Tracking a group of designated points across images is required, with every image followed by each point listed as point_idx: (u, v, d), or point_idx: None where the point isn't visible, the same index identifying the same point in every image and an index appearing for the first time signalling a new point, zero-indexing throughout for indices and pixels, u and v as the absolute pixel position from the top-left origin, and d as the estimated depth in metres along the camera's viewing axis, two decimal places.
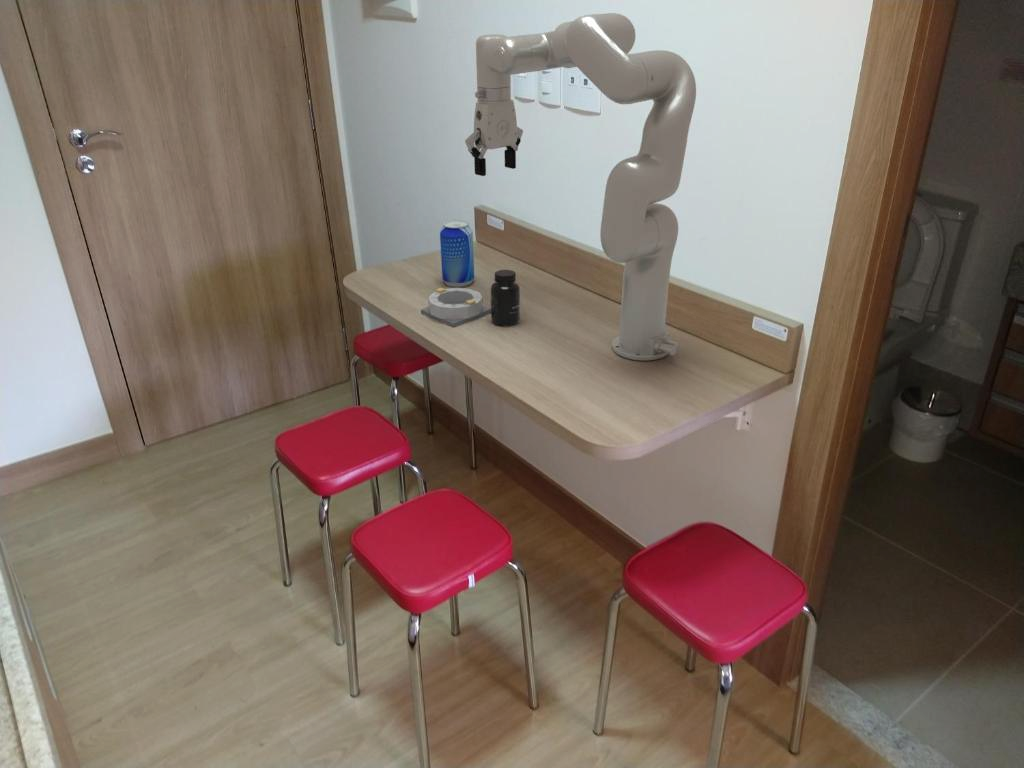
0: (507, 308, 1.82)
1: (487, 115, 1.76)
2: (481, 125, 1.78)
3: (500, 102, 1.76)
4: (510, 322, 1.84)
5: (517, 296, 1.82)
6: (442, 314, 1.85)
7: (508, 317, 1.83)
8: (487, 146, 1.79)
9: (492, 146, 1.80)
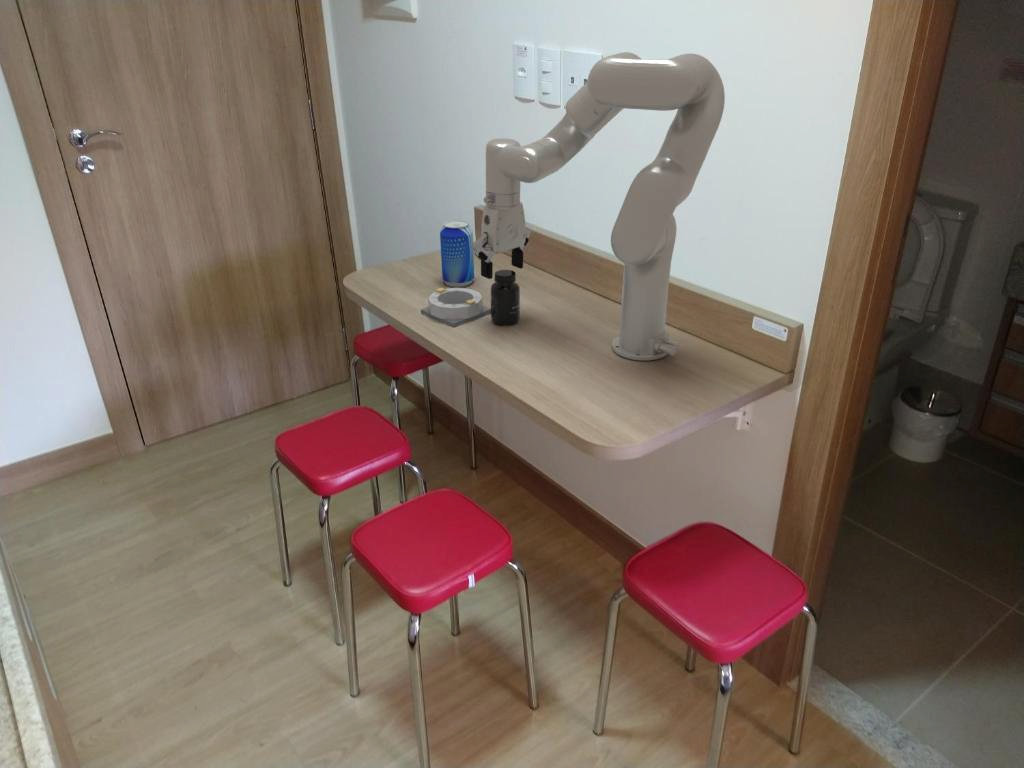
0: (507, 308, 1.82)
1: (495, 221, 1.71)
2: (489, 230, 1.72)
3: (509, 208, 1.71)
4: (510, 322, 1.84)
5: (517, 296, 1.82)
6: (442, 314, 1.85)
7: (508, 317, 1.83)
8: (495, 251, 1.74)
9: (500, 250, 1.75)
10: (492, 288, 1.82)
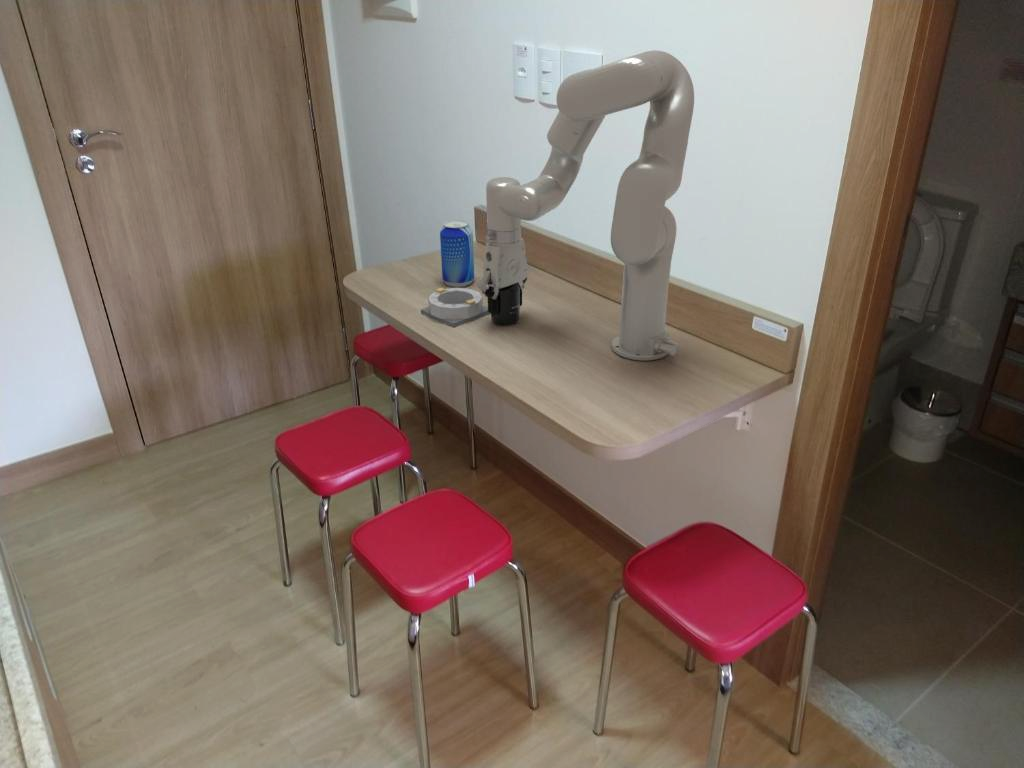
0: (506, 308, 1.82)
1: (497, 257, 1.75)
2: (491, 266, 1.76)
3: (510, 244, 1.75)
4: (510, 322, 1.84)
5: (517, 296, 1.82)
6: (442, 314, 1.85)
7: (508, 317, 1.83)
8: (497, 286, 1.77)
9: (502, 286, 1.78)
10: (492, 288, 1.82)
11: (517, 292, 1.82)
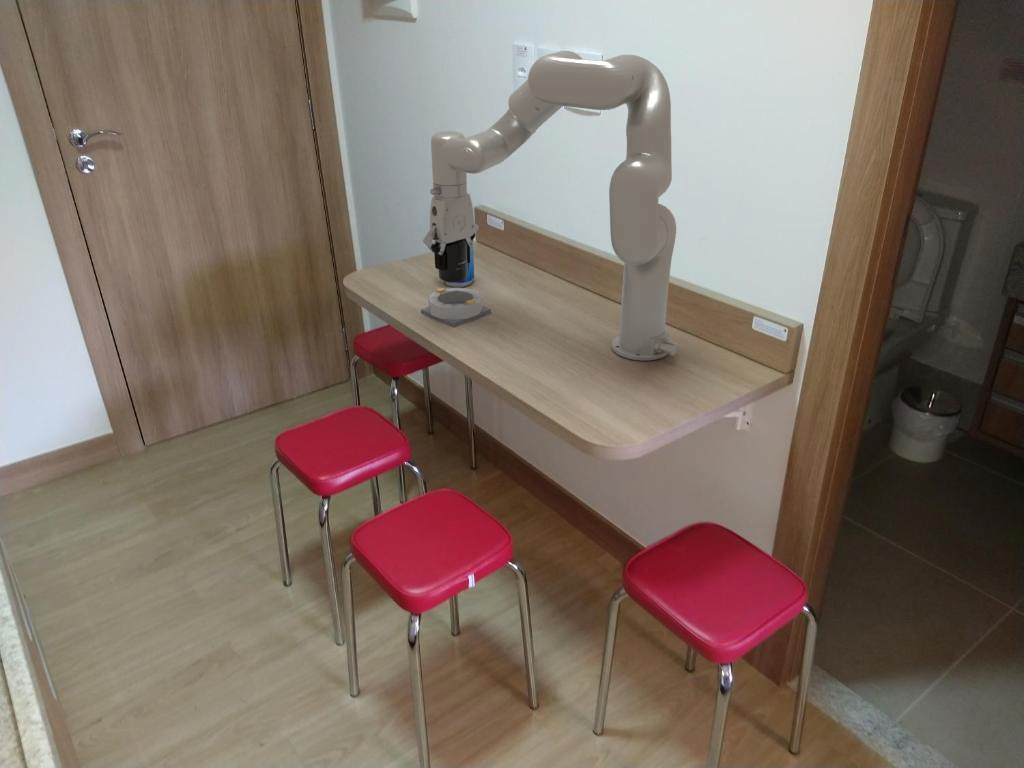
0: (453, 264, 1.82)
1: (442, 211, 1.75)
2: (437, 221, 1.76)
3: (455, 199, 1.75)
4: (457, 278, 1.84)
5: (464, 252, 1.82)
6: (442, 314, 1.85)
7: (455, 273, 1.83)
8: (443, 241, 1.78)
9: (448, 241, 1.79)
10: (439, 244, 1.82)
11: (464, 248, 1.82)
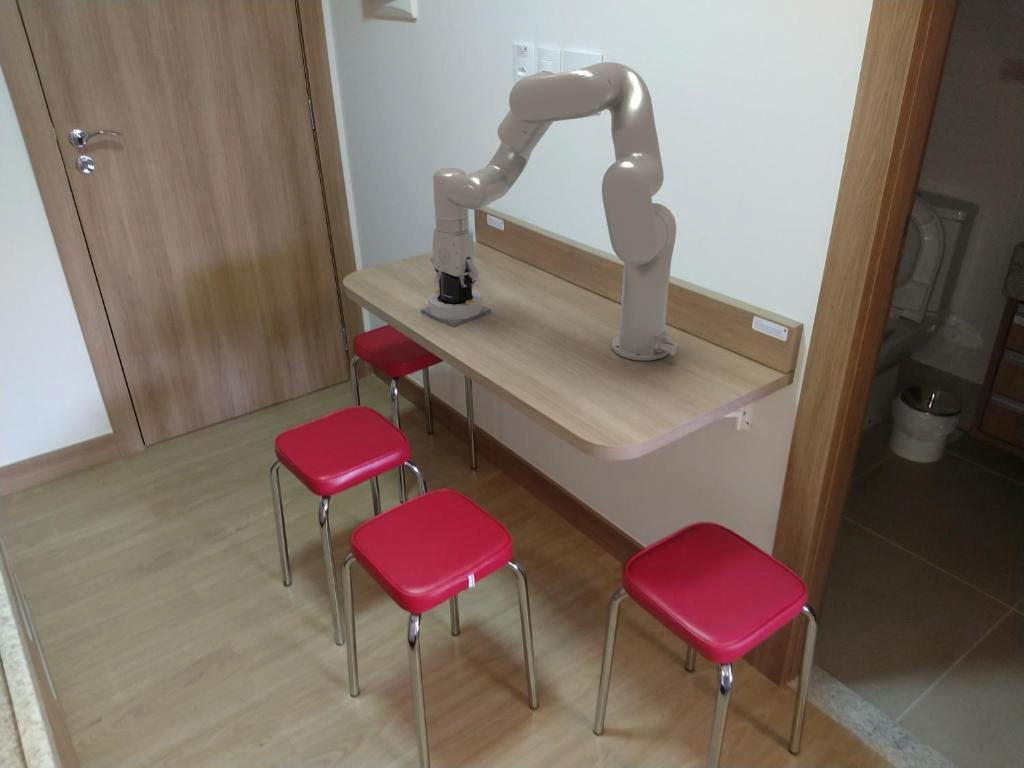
0: (441, 292, 1.88)
1: (433, 238, 1.84)
2: None
3: (436, 231, 1.80)
4: None
5: (446, 286, 1.85)
6: (442, 314, 1.85)
7: (442, 301, 1.89)
8: (433, 265, 1.87)
9: (436, 267, 1.86)
10: None
11: (447, 282, 1.85)
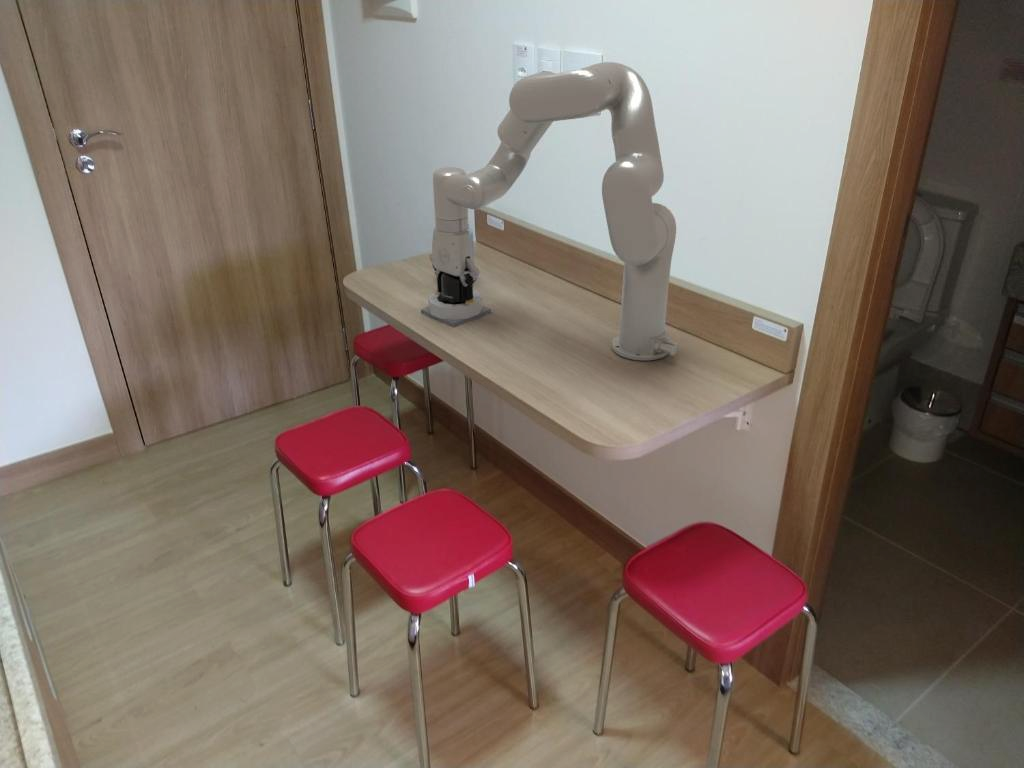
0: None
1: None
2: None
3: (436, 230, 1.80)
4: None
5: (447, 286, 1.85)
6: (442, 314, 1.85)
7: (442, 301, 1.89)
8: (432, 264, 1.87)
9: (435, 266, 1.86)
10: None
11: (447, 283, 1.85)
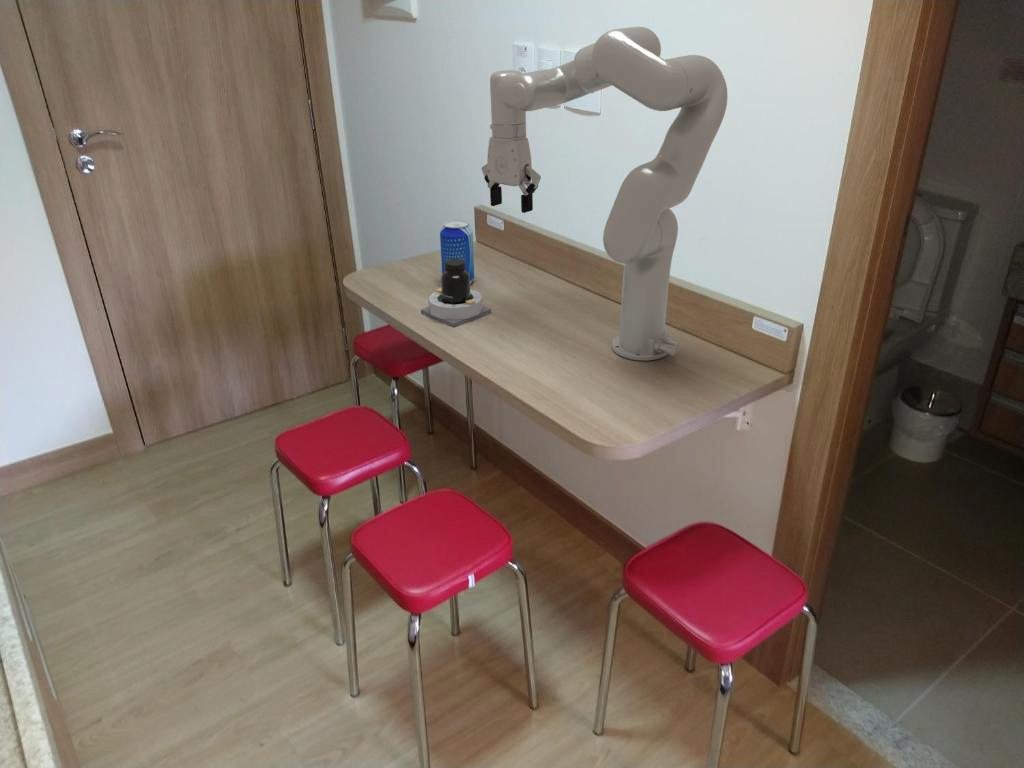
0: None
1: (488, 147, 1.77)
2: None
3: (493, 138, 1.74)
4: None
5: (447, 286, 1.85)
6: (442, 314, 1.85)
7: (442, 301, 1.89)
8: (488, 177, 1.80)
9: (491, 179, 1.80)
10: None
11: (447, 283, 1.85)
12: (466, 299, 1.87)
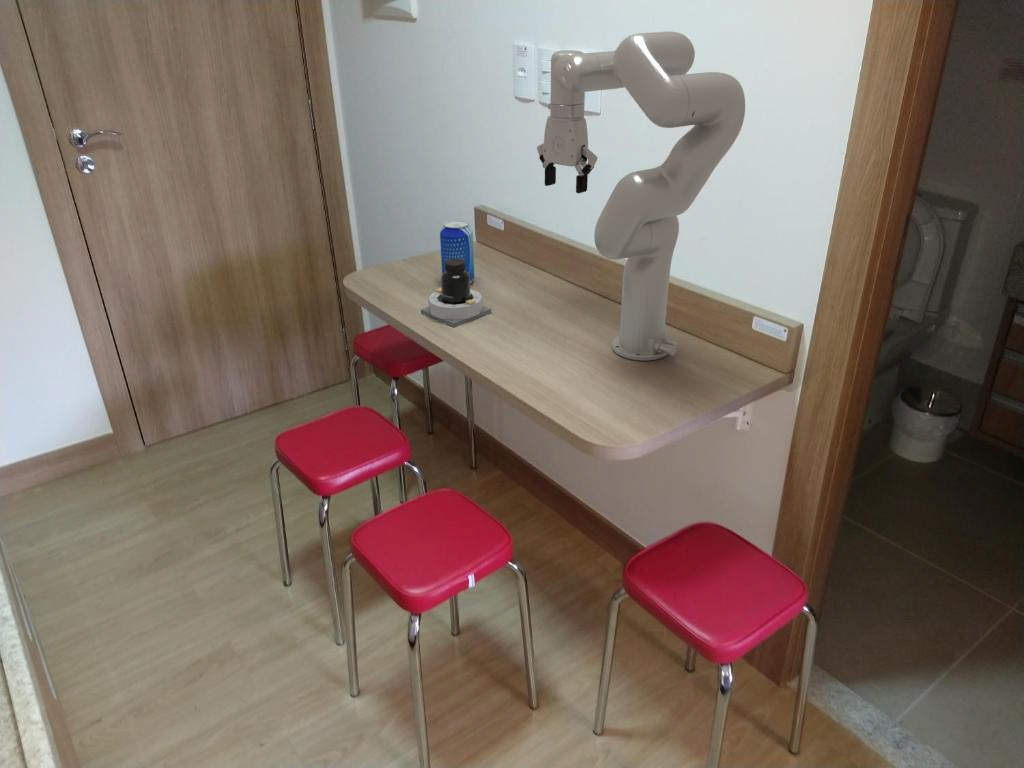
0: None
1: (545, 127, 1.78)
2: None
3: (551, 118, 1.75)
4: None
5: (447, 286, 1.85)
6: (442, 314, 1.85)
7: (442, 301, 1.89)
8: (543, 157, 1.82)
9: (546, 159, 1.81)
10: None
11: (447, 283, 1.85)
12: (466, 299, 1.87)
